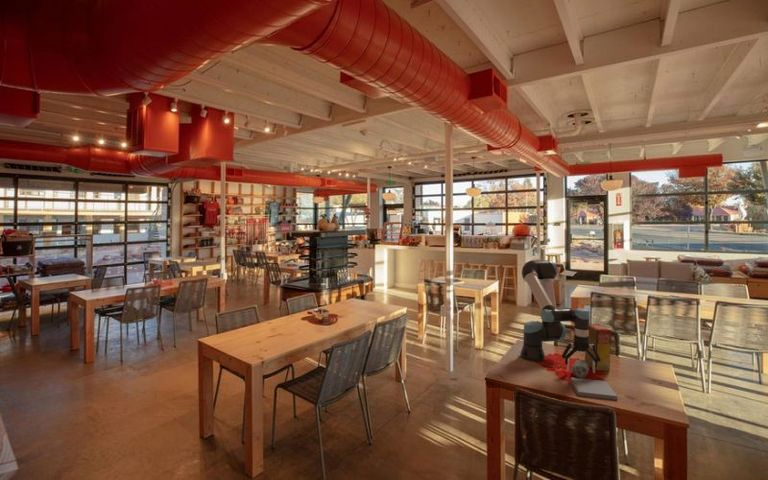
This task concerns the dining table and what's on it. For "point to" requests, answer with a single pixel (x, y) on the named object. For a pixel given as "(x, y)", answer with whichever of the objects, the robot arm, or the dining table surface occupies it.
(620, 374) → the dining table surface
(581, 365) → the spool
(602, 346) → the food packaging
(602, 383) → the plate
